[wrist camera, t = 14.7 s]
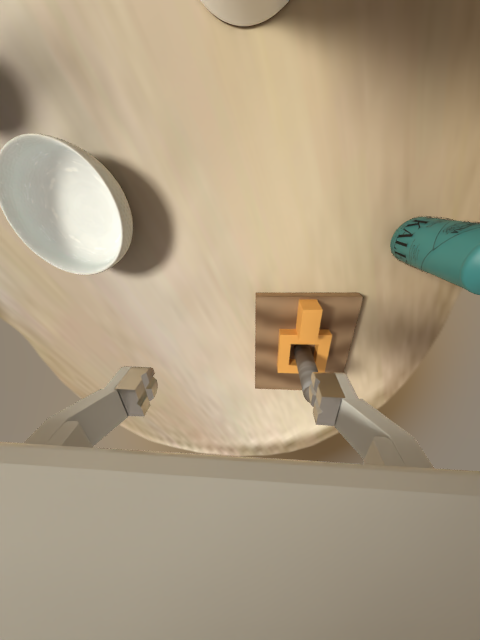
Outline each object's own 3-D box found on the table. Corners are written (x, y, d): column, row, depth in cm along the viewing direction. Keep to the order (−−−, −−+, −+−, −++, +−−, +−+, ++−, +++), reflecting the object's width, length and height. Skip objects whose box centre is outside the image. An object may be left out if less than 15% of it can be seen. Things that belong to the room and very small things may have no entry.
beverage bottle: (434, 244, 34) (620, 293, 16) (389, 267, 36) (511, 331, 19) (424, 204, 31) (630, 212, 14) (376, 231, 34) (503, 267, 16)
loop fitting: (281, 299, 38) (283, 309, 35) (334, 299, 37) (342, 309, 34) (277, 366, 45) (278, 380, 42) (321, 367, 45) (327, 381, 41)
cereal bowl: (18, 187, 34) (-34, 185, 28) (89, 116, 30) (44, 95, 23) (98, 279, 41) (70, 293, 35) (166, 234, 36) (147, 241, 30)
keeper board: (255, 292, 40) (254, 336, 27) (358, 292, 38) (407, 339, 26) (255, 381, 51) (254, 443, 38) (335, 384, 49) (362, 449, 36)
